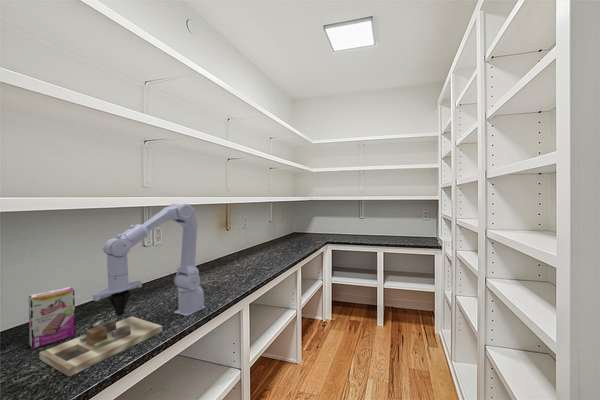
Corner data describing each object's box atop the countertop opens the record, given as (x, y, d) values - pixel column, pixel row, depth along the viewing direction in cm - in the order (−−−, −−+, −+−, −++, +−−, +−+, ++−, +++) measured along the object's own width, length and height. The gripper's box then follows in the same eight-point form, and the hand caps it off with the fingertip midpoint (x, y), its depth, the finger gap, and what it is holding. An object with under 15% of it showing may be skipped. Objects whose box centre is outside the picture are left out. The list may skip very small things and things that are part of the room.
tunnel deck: (131, 321, 106) (131, 308, 106) (162, 331, 97) (161, 317, 97) (39, 359, 82) (38, 342, 82) (69, 376, 74) (68, 357, 74)
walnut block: (100, 337, 90) (100, 325, 90) (107, 340, 88) (106, 327, 88) (86, 343, 87) (85, 330, 87) (93, 346, 85) (92, 333, 85)
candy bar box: (32, 350, 87) (29, 298, 87) (29, 345, 91) (27, 295, 90) (76, 336, 96) (74, 288, 96) (73, 331, 99) (71, 285, 99)
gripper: (132, 267, 102) (134, 304, 102) (87, 279, 89) (89, 321, 89) (144, 269, 98) (146, 307, 99) (98, 281, 86) (101, 325, 86)
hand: (120, 314), depth 94 cm, fingers closed
